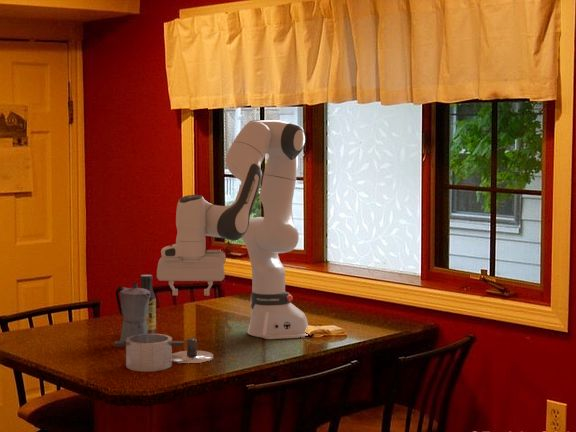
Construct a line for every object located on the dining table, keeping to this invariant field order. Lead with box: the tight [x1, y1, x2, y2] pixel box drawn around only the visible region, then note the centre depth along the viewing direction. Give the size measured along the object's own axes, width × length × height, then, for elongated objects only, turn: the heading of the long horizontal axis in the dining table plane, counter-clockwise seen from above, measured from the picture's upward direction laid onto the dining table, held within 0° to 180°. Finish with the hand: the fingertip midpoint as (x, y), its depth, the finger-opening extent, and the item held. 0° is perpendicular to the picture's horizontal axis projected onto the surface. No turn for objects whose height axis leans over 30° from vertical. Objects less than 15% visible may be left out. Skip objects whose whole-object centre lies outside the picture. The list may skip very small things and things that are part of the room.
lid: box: [172, 337, 214, 365], centre depth 284 cm, size 13×13×6 cm
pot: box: [113, 333, 185, 372], centre depth 276 cm, size 20×13×8 cm, turn 93°
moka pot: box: [115, 282, 151, 341], centre depth 301 cm, size 10×15×20 cm, turn 58°
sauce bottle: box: [139, 274, 157, 334], centre depth 316 cm, size 6×6×20 cm
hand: (190, 295), depth 283 cm, fingers open, 8 cm apart
